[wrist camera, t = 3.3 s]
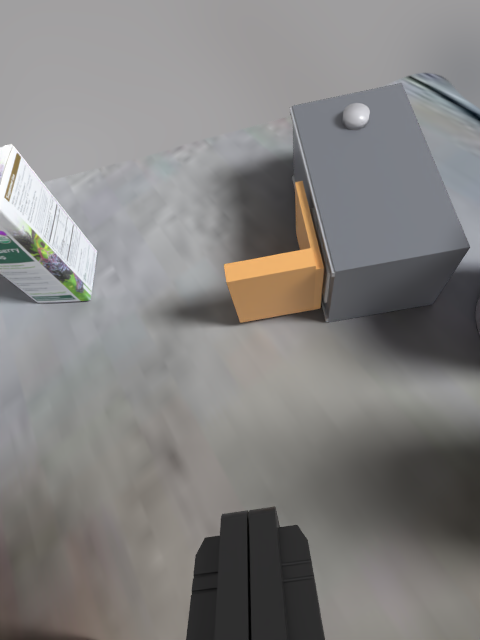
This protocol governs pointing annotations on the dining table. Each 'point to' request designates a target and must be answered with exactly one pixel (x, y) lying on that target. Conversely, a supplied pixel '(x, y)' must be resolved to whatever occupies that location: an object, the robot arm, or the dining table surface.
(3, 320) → the dining table surface
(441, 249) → the block
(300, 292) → the orange l-shaped bracket
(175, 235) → the dining table surface
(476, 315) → the pillar candle
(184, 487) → the dining table surface
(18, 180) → the syrup box
